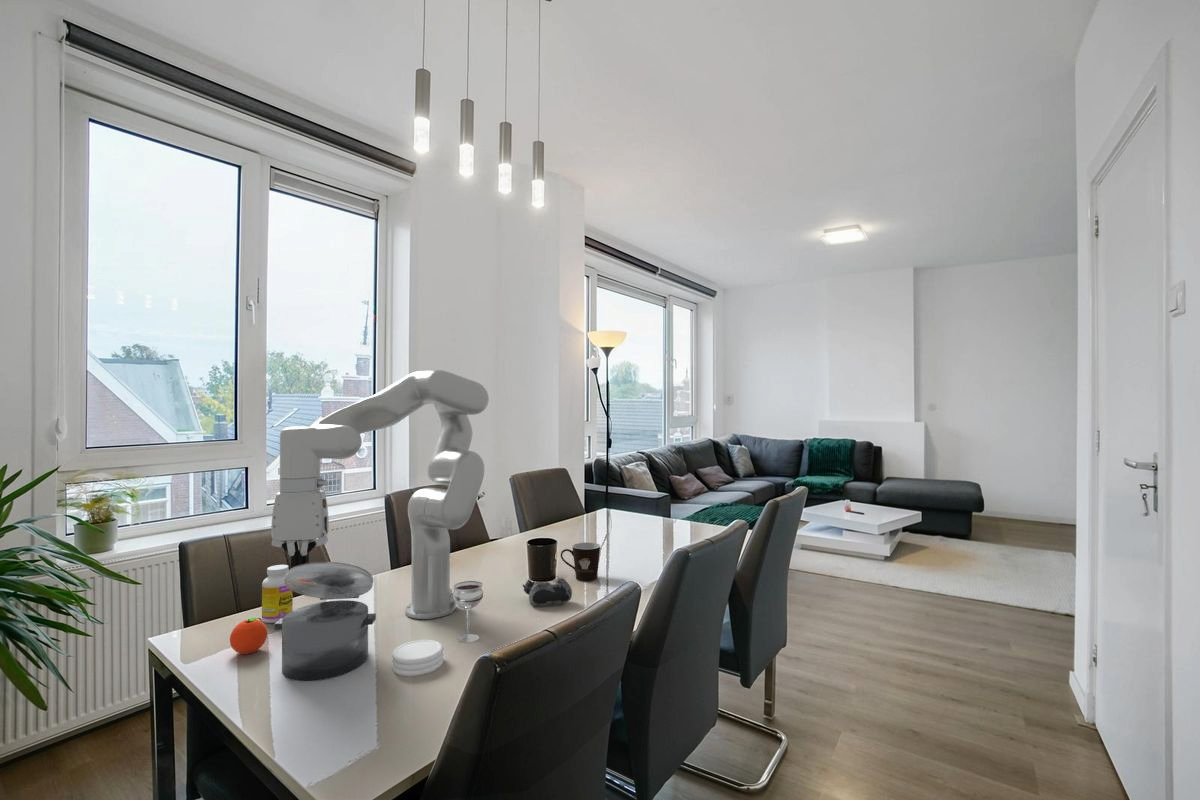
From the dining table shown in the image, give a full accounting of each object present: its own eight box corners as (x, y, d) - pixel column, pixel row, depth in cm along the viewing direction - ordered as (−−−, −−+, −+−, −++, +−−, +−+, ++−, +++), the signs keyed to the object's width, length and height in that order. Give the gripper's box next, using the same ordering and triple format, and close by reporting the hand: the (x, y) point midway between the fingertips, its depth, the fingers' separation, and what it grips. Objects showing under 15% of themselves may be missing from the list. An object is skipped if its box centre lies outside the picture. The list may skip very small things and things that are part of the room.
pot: (382, 643, 126) (382, 598, 126) (363, 677, 110) (363, 625, 110) (292, 648, 123) (293, 602, 123) (259, 684, 107) (260, 631, 107)
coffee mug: (605, 577, 174) (605, 544, 174) (590, 584, 167) (590, 550, 167) (574, 571, 180) (574, 539, 181) (558, 578, 173) (558, 545, 173)
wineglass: (450, 635, 130) (450, 582, 130) (480, 630, 133) (480, 579, 133) (455, 646, 124) (455, 591, 124) (486, 641, 127) (486, 587, 127)
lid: (299, 601, 124) (301, 591, 126) (379, 597, 127) (381, 587, 128) (272, 569, 111) (276, 557, 112) (363, 565, 113) (365, 554, 115)
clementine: (246, 643, 126) (247, 611, 126) (277, 643, 126) (277, 611, 126) (221, 659, 118) (221, 625, 118) (254, 659, 118) (254, 625, 118)
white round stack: (425, 651, 122) (425, 634, 122) (453, 664, 116) (453, 647, 116) (382, 667, 115) (382, 650, 115) (409, 682, 108) (409, 664, 108)
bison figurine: (573, 606, 150) (564, 592, 159) (573, 580, 149) (564, 568, 159) (528, 612, 146) (522, 597, 156) (528, 585, 146) (522, 572, 155)
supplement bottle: (278, 625, 136) (278, 571, 137) (255, 623, 138) (255, 570, 138) (298, 615, 143) (298, 564, 143) (276, 613, 144) (276, 562, 144)
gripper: (343, 482, 123) (343, 566, 123) (269, 483, 121) (269, 569, 121) (332, 487, 116) (331, 577, 115) (253, 489, 113) (253, 580, 113)
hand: (299, 573), depth 118 cm, fingers closed
